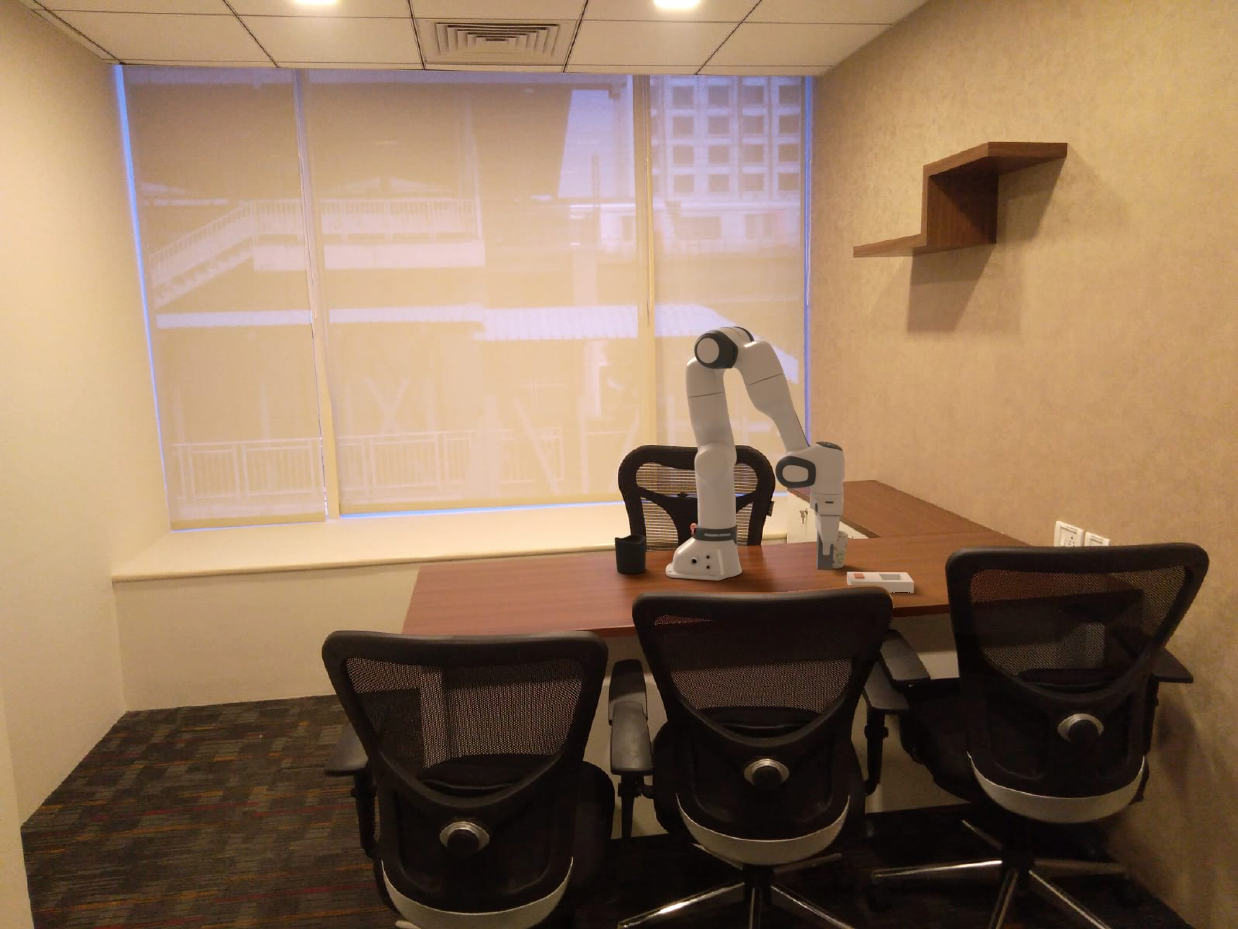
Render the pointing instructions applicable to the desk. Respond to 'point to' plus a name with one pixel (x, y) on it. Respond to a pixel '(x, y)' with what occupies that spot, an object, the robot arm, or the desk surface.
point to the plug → (823, 556)
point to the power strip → (883, 580)
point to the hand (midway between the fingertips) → (824, 551)
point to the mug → (840, 550)
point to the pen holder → (630, 554)
